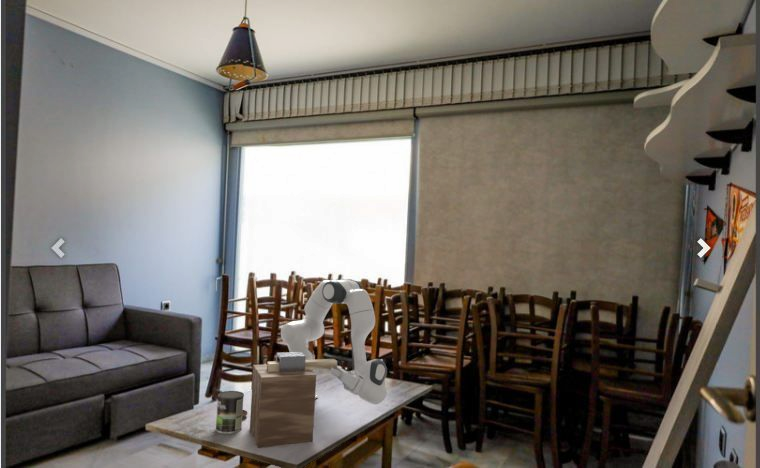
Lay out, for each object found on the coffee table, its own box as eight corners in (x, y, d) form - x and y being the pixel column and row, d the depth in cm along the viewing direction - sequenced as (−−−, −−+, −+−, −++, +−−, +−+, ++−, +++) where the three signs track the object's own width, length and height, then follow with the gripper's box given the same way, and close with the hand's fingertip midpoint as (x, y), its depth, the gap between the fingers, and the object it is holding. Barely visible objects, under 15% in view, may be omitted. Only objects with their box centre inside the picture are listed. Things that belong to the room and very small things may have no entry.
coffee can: (223, 436, 194) (225, 399, 194) (211, 428, 201) (213, 393, 202) (246, 430, 201) (248, 395, 202) (234, 423, 209) (236, 389, 209)
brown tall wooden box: (249, 429, 203) (253, 365, 203) (300, 424, 211) (303, 362, 212) (257, 448, 184) (261, 377, 185) (312, 442, 192) (316, 374, 193)
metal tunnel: (275, 367, 201) (276, 352, 201) (300, 366, 205) (300, 351, 205) (279, 372, 194) (280, 356, 194) (304, 371, 198) (305, 355, 198)
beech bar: (266, 369, 198) (267, 361, 198) (333, 365, 208) (334, 358, 209) (268, 371, 194) (269, 363, 194) (336, 368, 205) (337, 360, 205)
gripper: (348, 368, 220) (323, 353, 215) (365, 380, 201) (338, 365, 197) (341, 381, 219) (315, 366, 214) (357, 395, 200) (330, 379, 195)
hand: (326, 366), depth 205 cm, fingers open, 8 cm apart
